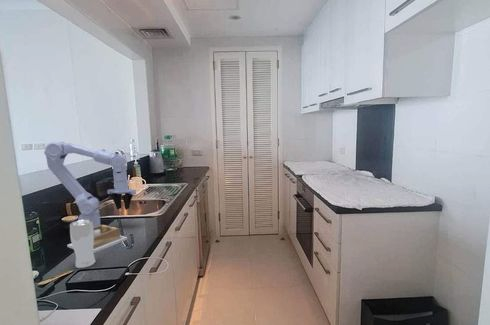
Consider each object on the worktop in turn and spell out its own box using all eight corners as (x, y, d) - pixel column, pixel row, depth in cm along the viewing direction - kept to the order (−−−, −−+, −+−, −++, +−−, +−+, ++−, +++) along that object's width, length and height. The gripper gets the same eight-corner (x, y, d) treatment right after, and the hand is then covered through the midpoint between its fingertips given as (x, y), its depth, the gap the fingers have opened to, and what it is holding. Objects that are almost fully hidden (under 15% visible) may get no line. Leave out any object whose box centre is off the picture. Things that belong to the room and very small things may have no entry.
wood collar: (75, 243, 110) (74, 233, 110) (103, 233, 120) (102, 224, 120) (92, 248, 104) (91, 238, 104) (120, 237, 114) (119, 228, 114)
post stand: (67, 247, 110) (65, 234, 109) (104, 233, 123) (103, 221, 123) (90, 254, 102) (88, 240, 101) (127, 239, 115) (126, 226, 115)
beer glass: (101, 260, 96) (97, 219, 95) (84, 270, 90) (79, 226, 88) (86, 258, 99) (82, 218, 97) (69, 267, 92) (63, 225, 90)
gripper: (101, 182, 126) (104, 210, 127) (127, 182, 122) (130, 211, 123) (112, 179, 132) (115, 206, 134) (137, 179, 128) (140, 207, 130)
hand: (123, 208), depth 129 cm, fingers open, 4 cm apart
